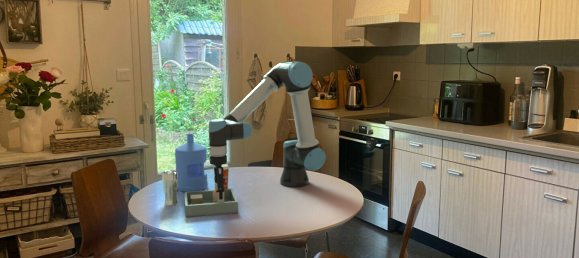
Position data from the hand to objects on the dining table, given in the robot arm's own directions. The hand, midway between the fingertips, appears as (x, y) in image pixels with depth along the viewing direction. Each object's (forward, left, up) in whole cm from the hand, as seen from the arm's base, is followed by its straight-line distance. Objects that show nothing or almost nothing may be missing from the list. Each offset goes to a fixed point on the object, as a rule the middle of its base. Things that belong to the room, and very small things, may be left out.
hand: (219, 201), depth 199 cm
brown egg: (0, 0, -2) cm, 2 cm away
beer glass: (+21, -9, -3) cm, 23 cm away
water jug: (+11, -32, -3) cm, 34 cm away
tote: (+4, 0, -2) cm, 5 cm away
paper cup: (-3, -20, -3) cm, 21 cm away
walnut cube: (+10, 0, -2) cm, 10 cm away
